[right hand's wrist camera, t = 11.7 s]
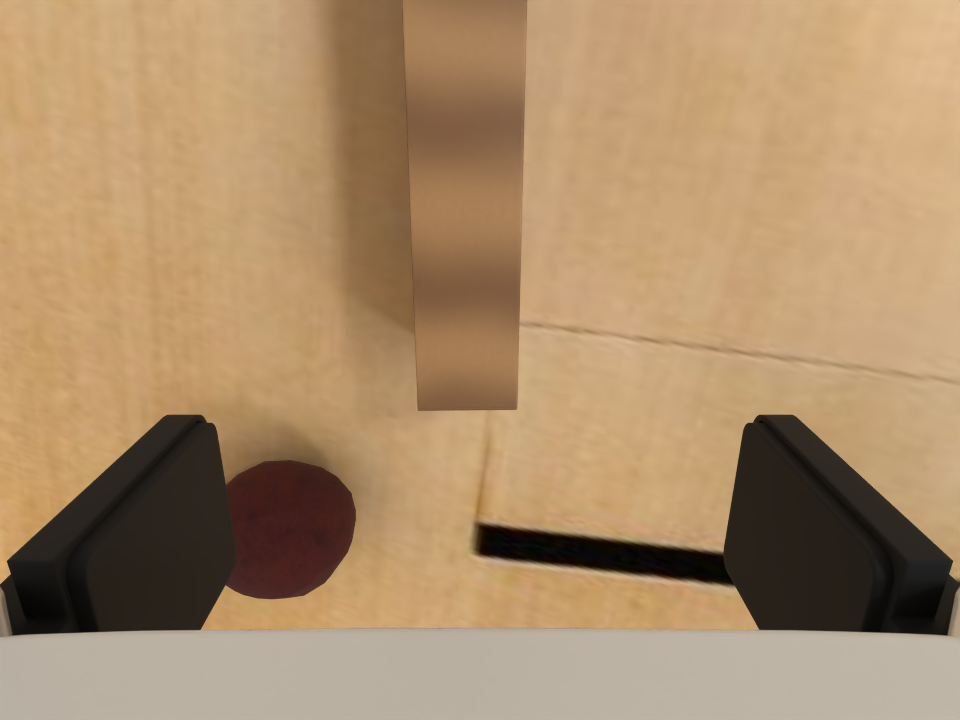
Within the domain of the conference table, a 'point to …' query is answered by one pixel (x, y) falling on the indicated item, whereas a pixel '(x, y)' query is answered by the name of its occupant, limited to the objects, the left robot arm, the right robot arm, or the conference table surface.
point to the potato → (288, 528)
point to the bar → (465, 197)
